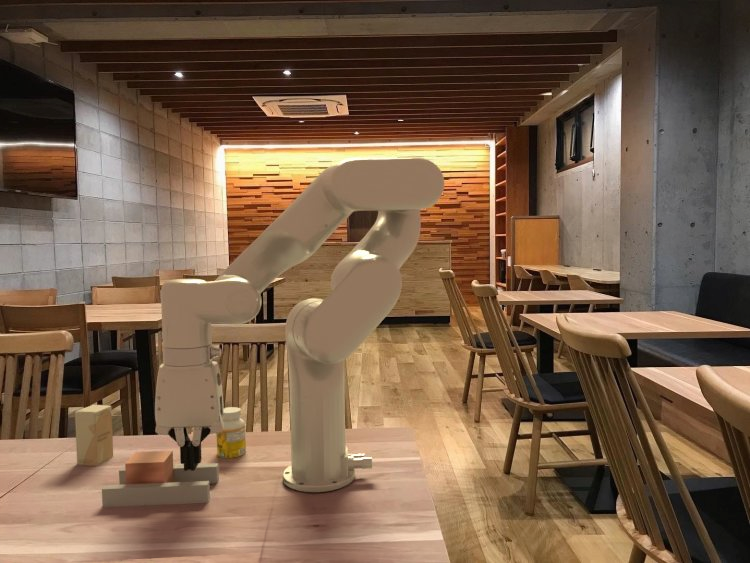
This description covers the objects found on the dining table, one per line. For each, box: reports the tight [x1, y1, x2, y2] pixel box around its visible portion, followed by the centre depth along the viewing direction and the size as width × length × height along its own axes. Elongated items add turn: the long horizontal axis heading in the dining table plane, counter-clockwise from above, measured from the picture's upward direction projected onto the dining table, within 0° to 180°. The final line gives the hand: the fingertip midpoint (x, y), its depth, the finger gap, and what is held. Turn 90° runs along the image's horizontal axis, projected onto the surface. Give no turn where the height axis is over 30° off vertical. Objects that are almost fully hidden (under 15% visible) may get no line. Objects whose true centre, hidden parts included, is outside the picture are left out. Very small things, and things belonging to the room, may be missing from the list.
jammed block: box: [124, 450, 174, 484], centre depth 96 cm, size 6×5×6 cm
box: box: [74, 404, 114, 467], centre depth 111 cm, size 5×4×11 cm
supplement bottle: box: [216, 406, 247, 459], centre depth 113 cm, size 5×5×10 cm
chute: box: [101, 463, 220, 508], centre depth 96 cm, size 24×12×4 cm, turn 94°
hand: (191, 467), depth 96 cm, fingers closed
